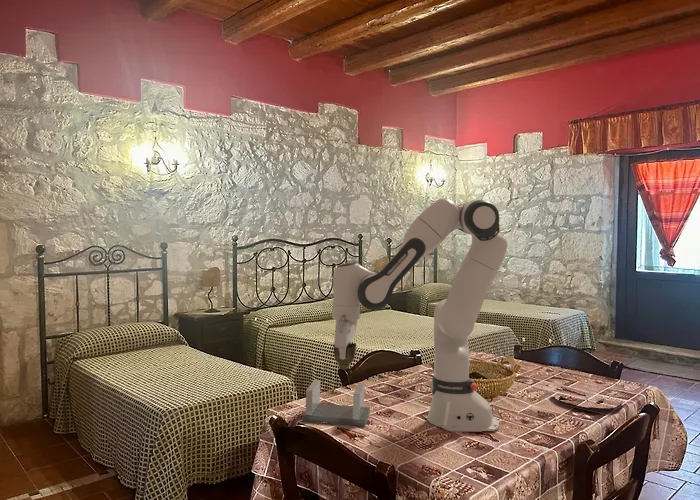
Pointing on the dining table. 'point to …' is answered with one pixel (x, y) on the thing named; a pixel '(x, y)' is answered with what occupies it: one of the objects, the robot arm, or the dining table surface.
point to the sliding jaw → (312, 397)
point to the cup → (349, 355)
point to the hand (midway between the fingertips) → (344, 355)
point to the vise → (342, 411)
